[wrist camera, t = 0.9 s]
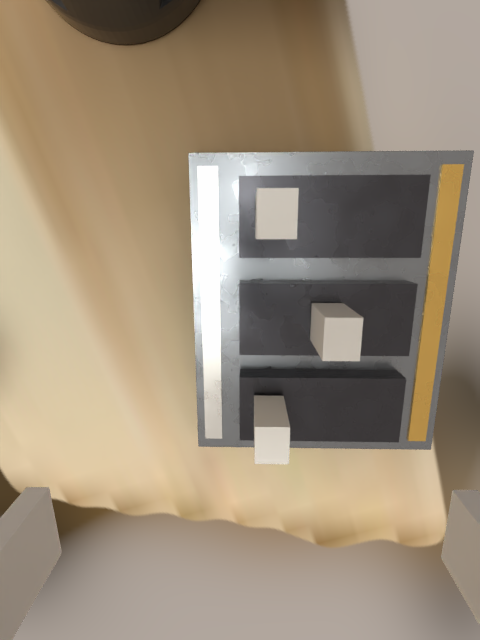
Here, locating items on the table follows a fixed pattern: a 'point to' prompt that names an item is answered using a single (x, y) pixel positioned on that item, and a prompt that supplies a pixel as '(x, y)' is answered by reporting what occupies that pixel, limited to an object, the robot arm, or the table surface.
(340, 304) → the block
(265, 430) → the breaker far
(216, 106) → the table surface
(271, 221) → the block
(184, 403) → the table surface
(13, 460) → the table surface
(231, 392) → the panel
